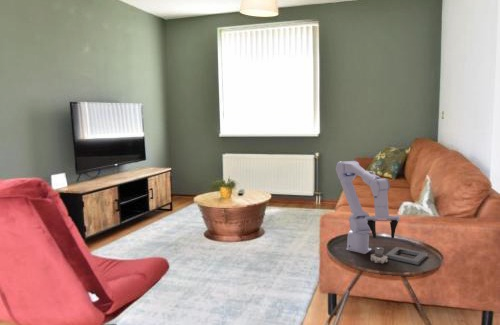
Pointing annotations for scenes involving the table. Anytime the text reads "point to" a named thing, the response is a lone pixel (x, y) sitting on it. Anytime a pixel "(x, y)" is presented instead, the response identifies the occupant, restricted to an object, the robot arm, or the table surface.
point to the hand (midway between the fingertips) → (383, 237)
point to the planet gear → (379, 255)
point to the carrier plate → (418, 259)
